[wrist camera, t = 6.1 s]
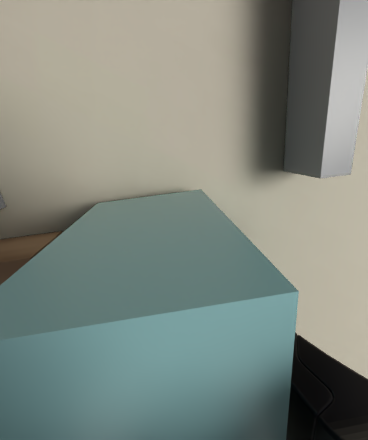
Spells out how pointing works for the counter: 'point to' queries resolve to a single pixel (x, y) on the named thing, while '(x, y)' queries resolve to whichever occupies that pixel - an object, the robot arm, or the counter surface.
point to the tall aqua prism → (147, 330)
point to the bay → (324, 86)
